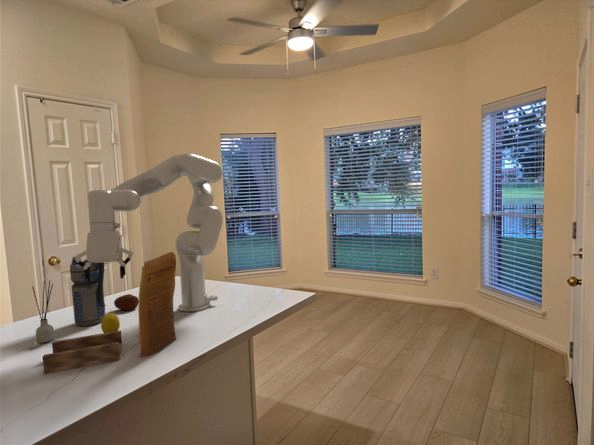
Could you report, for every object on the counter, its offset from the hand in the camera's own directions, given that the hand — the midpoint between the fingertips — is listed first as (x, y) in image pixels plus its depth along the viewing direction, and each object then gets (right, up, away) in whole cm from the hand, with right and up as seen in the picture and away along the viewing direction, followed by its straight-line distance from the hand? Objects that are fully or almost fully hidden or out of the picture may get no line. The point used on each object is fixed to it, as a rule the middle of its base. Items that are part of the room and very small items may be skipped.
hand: (106, 279), depth 120 cm
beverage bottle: (-13, -19, +16) cm, 28 cm away
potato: (-7, -18, +30) cm, 36 cm away
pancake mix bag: (+22, -19, -9) cm, 30 cm away
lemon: (+1, -19, +1) cm, 20 cm away
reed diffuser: (-18, -21, -2) cm, 27 cm away
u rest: (+3, -20, -15) cm, 26 cm away
